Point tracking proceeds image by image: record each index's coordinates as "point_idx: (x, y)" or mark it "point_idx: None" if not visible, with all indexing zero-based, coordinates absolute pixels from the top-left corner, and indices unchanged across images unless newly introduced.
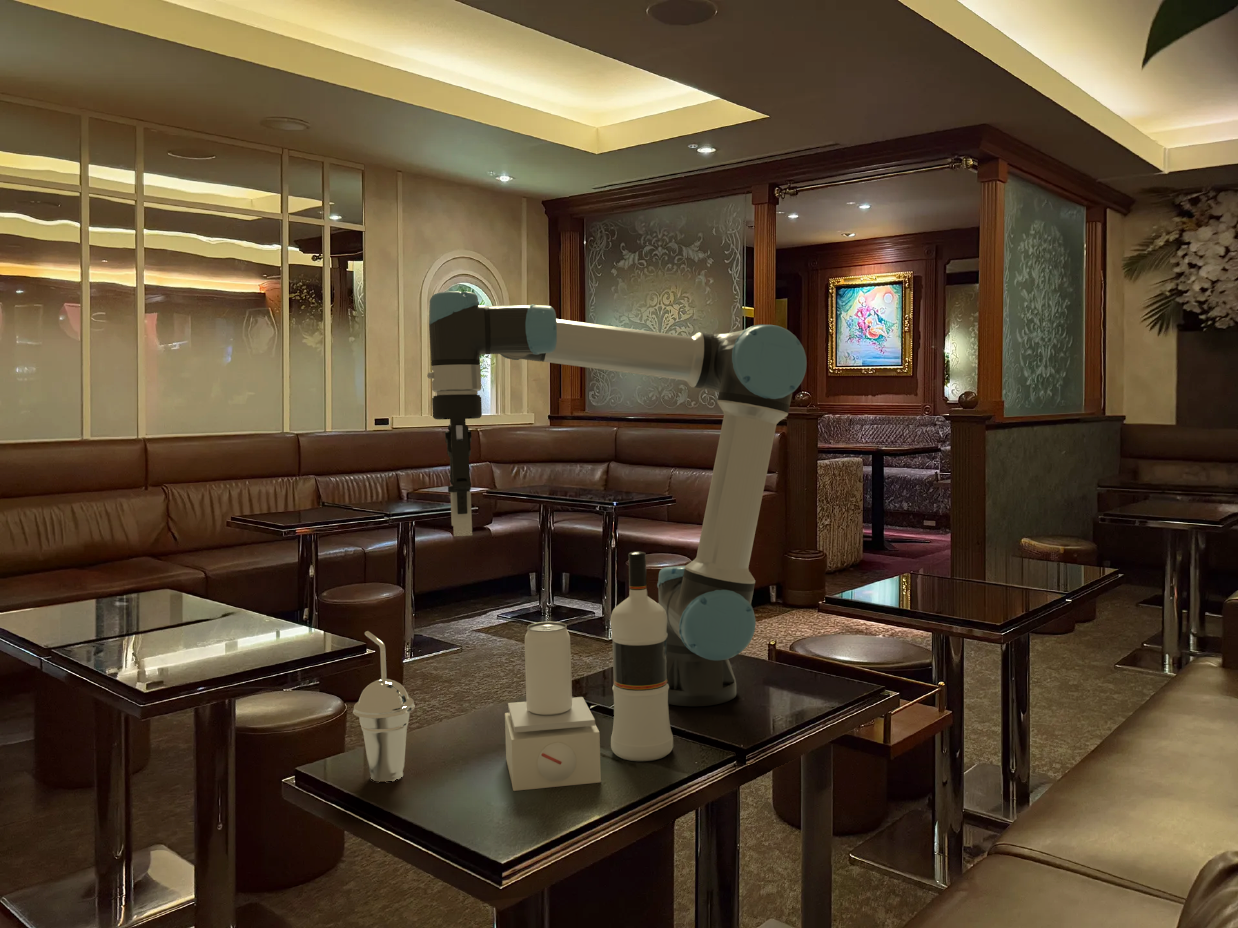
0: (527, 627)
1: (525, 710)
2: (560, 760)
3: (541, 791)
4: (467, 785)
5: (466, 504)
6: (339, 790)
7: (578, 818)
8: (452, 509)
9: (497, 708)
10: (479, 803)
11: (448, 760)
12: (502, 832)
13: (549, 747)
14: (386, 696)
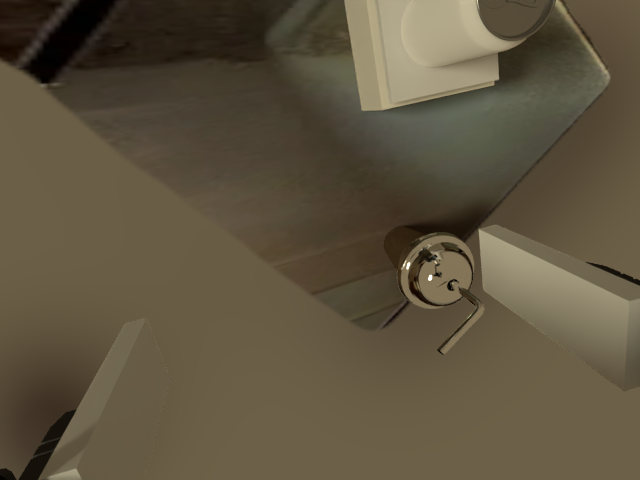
0: (519, 39)
1: (432, 70)
2: None
3: None
4: (436, 146)
5: (632, 279)
6: None
7: None
8: (155, 425)
9: (136, 156)
10: (485, 124)
11: (357, 185)
12: (555, 88)
13: None
14: (472, 267)
